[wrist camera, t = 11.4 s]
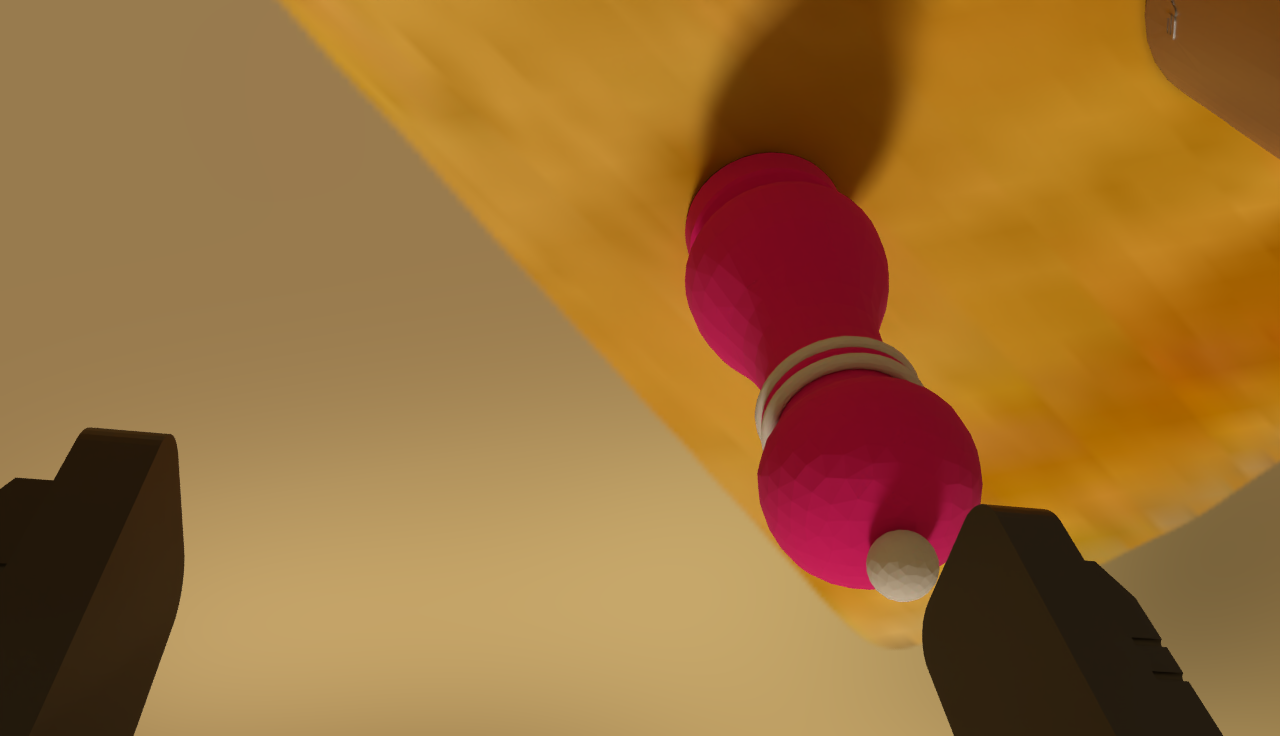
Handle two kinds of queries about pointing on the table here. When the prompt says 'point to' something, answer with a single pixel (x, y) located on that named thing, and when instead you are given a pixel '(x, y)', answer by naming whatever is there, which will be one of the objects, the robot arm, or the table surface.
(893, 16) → the table surface
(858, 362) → the pepper mill
